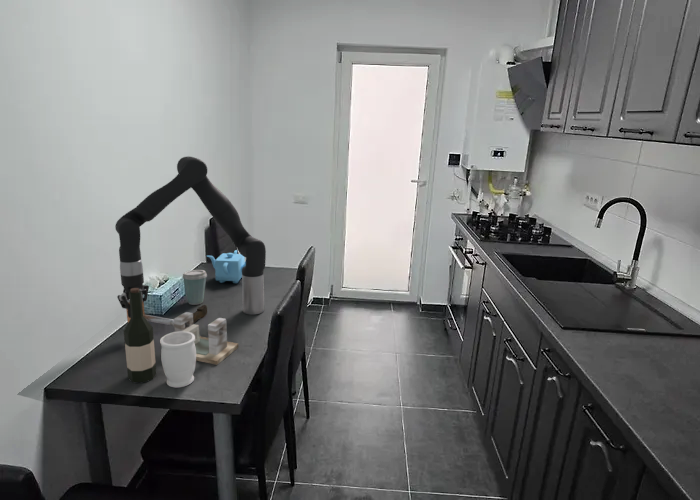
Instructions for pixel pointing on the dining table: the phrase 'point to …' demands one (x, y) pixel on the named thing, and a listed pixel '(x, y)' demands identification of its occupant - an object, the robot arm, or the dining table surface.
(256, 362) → the dining table surface
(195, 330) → the spacer collar
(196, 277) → the disposable coffee cup
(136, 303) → the wine bottle
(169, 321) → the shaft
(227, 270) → the teakettle
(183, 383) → the jar
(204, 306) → the hand tool
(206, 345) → the bearing stand
